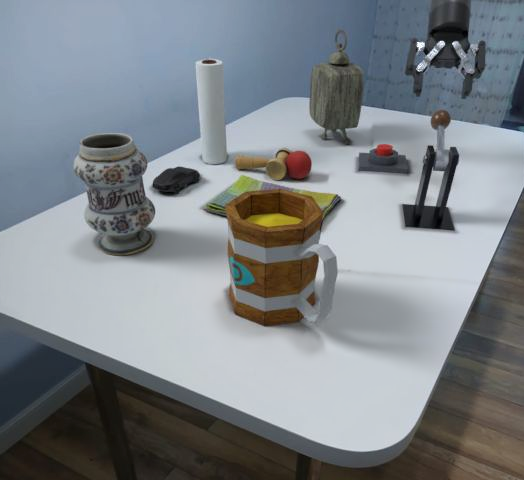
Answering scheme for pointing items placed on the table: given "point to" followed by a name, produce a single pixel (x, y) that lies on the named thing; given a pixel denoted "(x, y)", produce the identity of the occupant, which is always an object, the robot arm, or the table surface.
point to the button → (384, 150)
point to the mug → (277, 257)
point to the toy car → (175, 179)
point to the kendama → (279, 164)
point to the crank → (440, 139)
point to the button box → (382, 162)
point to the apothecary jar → (115, 192)
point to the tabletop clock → (336, 92)
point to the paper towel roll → (211, 110)
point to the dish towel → (250, 184)
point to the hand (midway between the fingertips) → (441, 95)
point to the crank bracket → (440, 213)
